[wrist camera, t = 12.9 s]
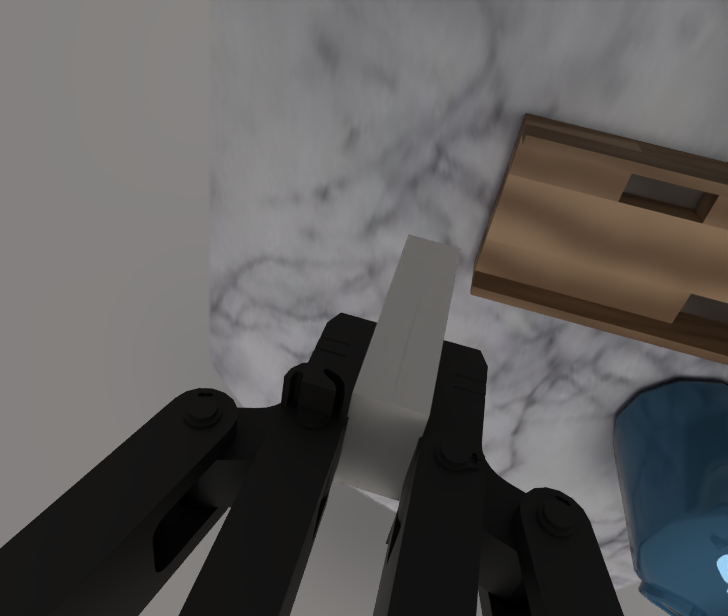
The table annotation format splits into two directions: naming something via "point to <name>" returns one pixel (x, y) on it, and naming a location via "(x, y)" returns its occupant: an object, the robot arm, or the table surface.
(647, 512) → the wine bottle
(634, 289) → the trap box
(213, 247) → the table surface
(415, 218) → the table surface
